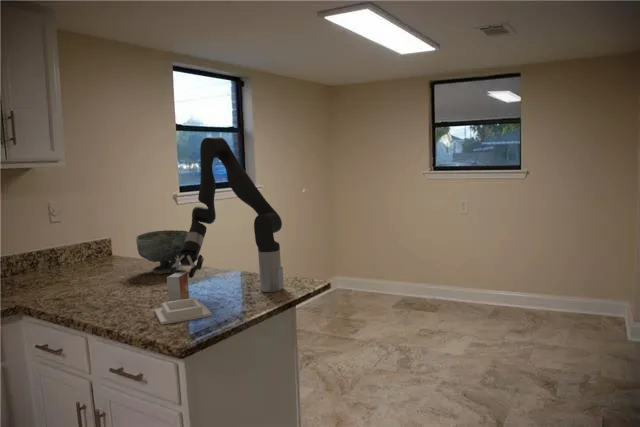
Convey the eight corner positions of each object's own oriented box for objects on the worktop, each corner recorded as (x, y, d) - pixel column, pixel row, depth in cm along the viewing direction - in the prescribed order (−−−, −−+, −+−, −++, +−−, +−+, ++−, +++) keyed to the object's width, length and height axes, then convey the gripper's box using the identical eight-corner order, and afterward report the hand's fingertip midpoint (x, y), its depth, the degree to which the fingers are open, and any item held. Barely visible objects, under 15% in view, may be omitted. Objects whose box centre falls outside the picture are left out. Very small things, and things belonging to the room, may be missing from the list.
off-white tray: (201, 304, 211) (200, 295, 211) (211, 315, 195) (210, 306, 194) (154, 311, 204) (153, 302, 203) (161, 324, 187) (160, 315, 187)
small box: (180, 302, 215) (178, 276, 214) (168, 302, 216) (166, 276, 215) (189, 296, 223) (187, 272, 222) (177, 296, 224) (175, 272, 223)
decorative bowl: (186, 262, 293) (182, 226, 290) (198, 271, 270) (194, 233, 267) (136, 271, 281) (131, 234, 278) (144, 281, 259) (139, 241, 256)
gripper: (174, 239, 230) (162, 271, 221) (204, 240, 226) (192, 272, 217) (181, 249, 236) (169, 281, 227) (210, 249, 232) (199, 282, 223)
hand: (181, 276), depth 222 cm, fingers open, 8 cm apart
